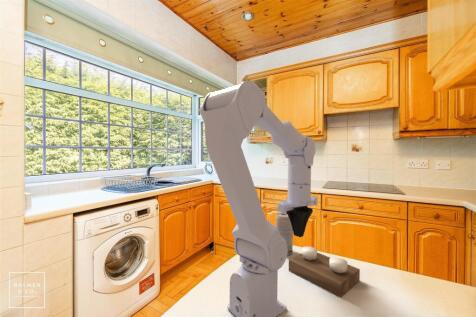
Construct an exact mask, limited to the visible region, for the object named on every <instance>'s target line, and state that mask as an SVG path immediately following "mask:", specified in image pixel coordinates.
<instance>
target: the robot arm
mask: <svg viewBox="0 0 476 317" xmlns="http://www.w3.org/2000/svg"><path fill="white" fill-rule="evenodd" d="M266 101H267V100H266V95H265V92H264V91H262V90H261V89H260V88H259V86H258V85H257V83H255V82H253V81H252V80H246V81H242V82H241V83H239V84H236V85H233V86H229V87H226V88H223V89H220V90H216V91H211V92H209V93H208V94H206V95H205V97H204V99H203V101H202V104H201V106H200V108H199V113H200V116H201V118H202V122H203V124H204V135H205V136H204V139H205V140H204V141H205V147H206V151H207V152H208V156H209V157H210V161H211V163H212V165H213V167H214V171H215V173H216V174H217V177H218V181H219V182H220V185H221V187H222V190H223V192H224V195H225V197H226V200H227V202H228V205H229V207H230V210H231V213H232V215H233V217H234V220H235V222H236V225H235V227H233V230H232V231H231V234H232V236H233V241H234V242H233V247H234V252H235V253H236V254H237V255H238V256H239V262H240V263H241V265H240V267H239V268H238V269H237V270H236V271H234V272H233V273H232V274H231V276H230V279H229V304H227V305H226V306H227V307H226V308H227V310H229V311H230V312H231V313H232V314H233V315H234V316H235V317H277V316H279V315H280V314H282V313H283V312H285V311H286V310H287V309H288V308H287V305H285V303H283V302H281V301H280V300H278V289H279V288H278V284H279V283H278V278H279V277H278V275H279V274H278V272H279V270H280V269H282V267H283V266H284V264H285V263H286V260H287V257H288V255H287V252H288V248H287V243H286V241H285V239H284V238H283V237H282V236H281V235H280V232H279V229H278V228H276V225H274V224H273V223H272V222H270V221H269V220H268V219H267V218H266V217H265V214H264V209H263V207H262V205H261V201H260V198H259V195H258V192H257V190H256V186H255V183H254V180H253V177H252V175H251V171H250V169H249V166H248V162H247V159H246V157H245V153H244V151H243V148H242V144H243V142H244V140H245V139H246V138H248V137H249V135H250V133H251V132H252V131H253V129H254V127H255V126H257V127H258V128H260V129H262V130H263V131H265V132H266V133H268V134H269V135H270V140H271V141H272V143H273V144H274V145H277V146H278V147H279V148H280V149H281V151H283V155H284V157H285V158H286V159H287V199H285V200H283V201H282V202H279V203H278V202H277V207H276V208H277V213H287V215H288V217H289V219H290V222H291V225H292V229H293V236H294V237H298V238H303V237H304V235H305V231H306V228H307V225H308V222H309V219H310V218H311V216H312V214H313V213H314V208H311V207H312V206H313V207H314V206H315V205H316V206H317V205H318V199H319V198H318V197H316V196H311V195H312V191H311V190H312V189H311V188H312V186H311V184H312V166H314V157H315V154H316V152H317V151H316V148H317V147H316V142H315V140H314V139H313V138H312V137H310V136H309V135H307V136H305V135H303V133H301V132H300V130H298V129H297V128H296V127H295V126H294V125H293V123H292V122H291V121H290V120H288V121H285V120H283V121H281V120H280V119H279V118H278V116H277V115H276V114H275V113H274V112H273V111H272V110H271V108H270V107H269V106H268V105H267V102H266Z"/></svg>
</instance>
